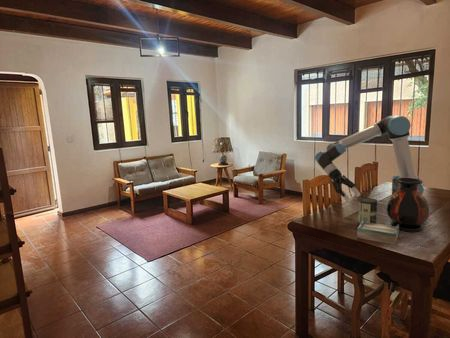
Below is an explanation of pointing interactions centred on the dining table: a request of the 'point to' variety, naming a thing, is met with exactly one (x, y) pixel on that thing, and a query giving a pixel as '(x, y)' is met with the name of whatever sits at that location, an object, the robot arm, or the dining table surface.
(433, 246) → the dining table surface
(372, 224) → the clear glass tray
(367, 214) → the coffee can
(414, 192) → the amphora vase
